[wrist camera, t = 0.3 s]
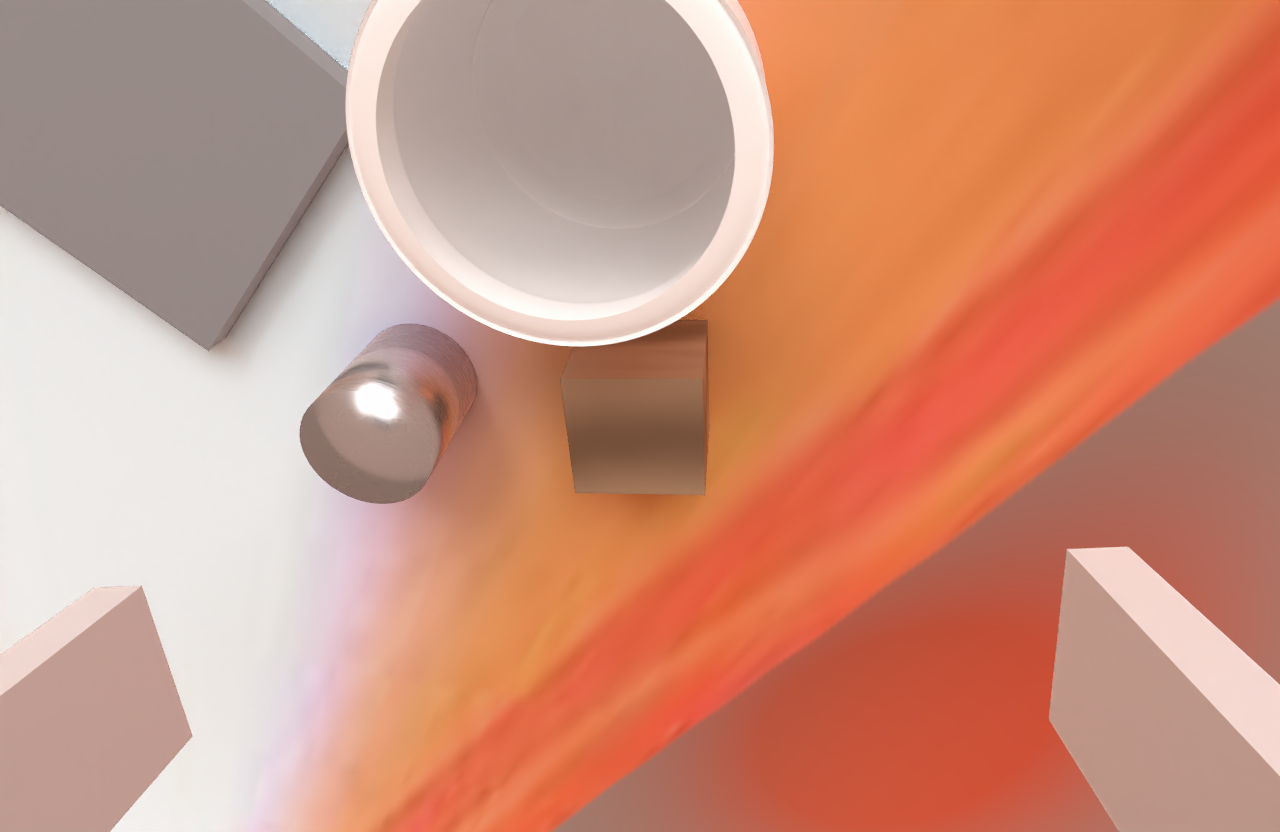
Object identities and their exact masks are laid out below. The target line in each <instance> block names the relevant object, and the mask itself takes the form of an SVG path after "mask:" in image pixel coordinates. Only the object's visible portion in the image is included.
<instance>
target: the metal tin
mask: <svg viewBox="0 0 1280 832" xmlns="http://www.w3.org/2000/svg"><path fill="white" fill-rule="evenodd" d="M476 392H477V378H476V373H475V369H474V367H473V365H472V362H471V360H470V359H469V357H468V355H467V354H466V353H465V351H464V350H463V349H462V348H461V347H460V346H459V345H458V344H457V343H456V342H455V341H454V340H453V339H451V338H450V337H449V336H447V335H446V334H444V333H442V332H440V331H438V330H436V329H434V328H431V327H428V326H424V325H419V324H400V325H396V326H392V327H390V328H387V329H386V330H384V331H382V332H381V333H379V334H378V335H377V336H376V337H375V338H374V339H373V340H372V341H371V342H370V343H369V344H368V346H367V347H366V348H365V349H364V350H363V351H362V352H361V353H360V354H359V355H358V356H357V357H356V358H355V359H354V360H353V361H352V362H351V363H350V365H349V366H348V367H347V368H346V369H345V370H344V371H343V372H342V373H341V374H340V375H339V376H338V377H337V378H336V379H335V380H334V381H333V382H332V384H331V385H330V386H329V387H328V388H327V389H326V390H325V391H324V392H323V393H322V394H321V395H320V396H319V397H318V398H317V399H316V400H315V401H314V403H313V404H312V405H311V406H310V407H309V408H308V409H307V411H306V412H305V414H304V416H303V418H302V421H301V425H300V441H301V445H302V449H303V452H304V454H305V456H306V458H307V460H308V462H309V463H310V465H311V466H312V468H313V469H314V470H315V471H316V473H317V474H318V475H319V476H320V477H321V478H322V479H323V480H324V481H326V482H327V483H328V484H329V485H331V486H332V487H333V488H335V489H336V490H338V491H340V492H341V493H343V494H345V495H347V496H350V497H352V498H355V499H358V500H361V501H365V502H370V503H379V504H386V503H395V502H399V501H403V500H405V499H408V498H410V497H411V496H413V495H415V494H416V493H417V492H418V491H419V490H421V488H422V487H423V486H424V485H425V483H426V481H427V480H428V478H429V476H430V475H431V473H432V471H433V470H434V468H435V466H436V464H437V463H438V461H439V459H440V458H441V456H442V454H443V453H444V451H445V449H446V448H447V446H448V444H449V443H450V441H451V439H452V437H453V436H454V434H455V432H456V431H457V429H458V427H459V426H460V424H461V422H462V421H463V419H464V417H465V416H466V414H467V412H468V410H469V409H470V407H471V405H472V404H473V402H474V399H475V396H476Z"/></svg>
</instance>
